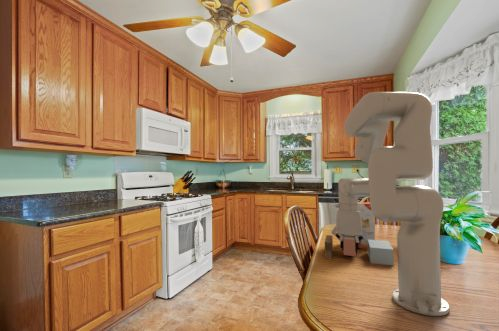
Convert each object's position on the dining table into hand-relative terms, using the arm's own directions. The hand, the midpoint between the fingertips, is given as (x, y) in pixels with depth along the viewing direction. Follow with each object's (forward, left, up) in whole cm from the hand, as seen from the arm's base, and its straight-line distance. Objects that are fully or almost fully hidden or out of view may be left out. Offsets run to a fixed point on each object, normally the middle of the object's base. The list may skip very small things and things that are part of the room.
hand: (349, 250), depth 104 cm
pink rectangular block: (0, 0, -1) cm, 1 cm away
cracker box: (+15, -4, -3) cm, 16 cm away
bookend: (0, +8, -2) cm, 9 cm away
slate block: (0, -12, -2) cm, 12 cm away
